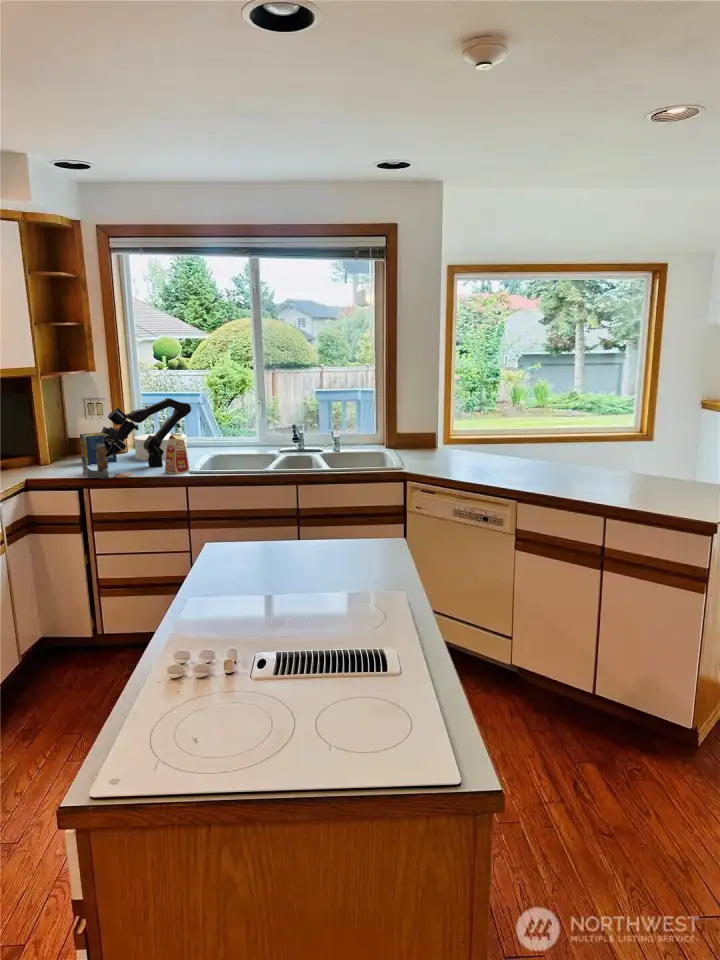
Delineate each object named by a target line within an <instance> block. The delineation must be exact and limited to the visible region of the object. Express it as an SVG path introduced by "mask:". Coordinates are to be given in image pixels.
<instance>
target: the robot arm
mask: <svg viewBox="0 0 720 960" xmlns="http://www.w3.org/2000/svg"><path fill="white" fill-rule="evenodd" d="M169 407H170V408H172V409H173V412H172V414H171V416H169V418H168V419H167V420H166V421H165V422H164V423H163V425H162V426H161V427H160V428H159V430H158V431H157V432H156V433H154V434H155V435H154V436H150V435H149V436H148V438H147V439H146V440H145V442H144V449H145V450H146V451H147V452H148V454H149V457H148V461H147V462H148V465H147V466H148V467H149V468H159V467H160V468H161V467H163V466H164V463H163V461H162V455H163V452H164V451H163V450H162V449H161V448H159V447H160V446H161V443H162V440H163V439H164V438H165V436H166V435H167V434H168V433H171V430H173V428H174V427H175V426H176V425H177V424H178V423H179V421H180V420H182V419H183V418H185V417H186V416H188V415H189V414H190V413H191V412H192V406H191V405H190V404H189V403H188V402H182V401H181V402H180V401H177V400H174V399H173V398H169V397H167V398H166V397H165V399H162V400H161V401H158V402H157V403H154V404H152V405H149V406H147V407H145V408H139V409H135V410H132V411H130V413H126V414H125V413H124V412H123V411H122V410H121V409H120V408H118V407H116V408H115V409H113V411H111V412H110V413H109V414H108V416H107V419H109V420H110V421H111V422H112V423H113V424H114V425H116V426H118V425H119V427H118V428H114V427H112V426H110V427H109V428H108V427H106V426H103V427H102V430H101V433H104V434H108V435H105V436H104V437H103V443H104V444H105V447H106V450H107V451H108V452H107V454H106V455H105V456H106V457H109V456H111V455H113V454H115V453H116V454H117V453H119V452H122V451H125V450H126V448H127V445H126V443H125V440H126V439H128V438H129V435H131V433H132V432H133V431H134V430H136V431H139V429H140V428H139V424H140V423H142V422H144V421H145V420H147V419H148V418H149V417H150V416H152V415H155V414H156V413H159V412H161V411H162V410H166V409H167V408H169ZM135 423H136V424H135Z"/></svg>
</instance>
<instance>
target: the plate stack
mask: <svg viewBox="0 0 720 960" xmlns="http://www.w3.org/2000/svg"><path fill="white" fill-rule="evenodd" d="M171 433H172V432H169V433H168V434H167V435H166V436H165V438H164V439H163V440H162V443H161V446H160V447H159V448H161V449H162V450H163V451H164V452H163V455H162V460H164V461H165V460H166V451H167V445H168V439H169V437H170V436H171ZM174 433H175V434H180V433H177V432H174ZM155 434H156V433H149V434H148V433H147V434H141V435H137V436H134V438H133V439H134V445H135V446H134V449H135V459H136V458H137V459H136V460H138V459H141V460H140V461H145V460H148V457H149V454H148V452H147V451H146V450H145V449H144V442H145V440H146V439H147V438H148V436H149V435H150V436H154V435H155ZM181 434H182V435H181V437H182V438H183V439H184V442H185V446H186V451H187V452H188V448H187V447H188V445H187V441H188V440H187V434H184V433H181Z"/></svg>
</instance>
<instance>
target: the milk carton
mask: <svg viewBox="0 0 720 960" xmlns="http://www.w3.org/2000/svg"><path fill="white" fill-rule="evenodd" d="M170 433H171V436H170V437H169V439H168V445H167V451H166V460H164V462H165V463H164V464H165V465H164V473H166V472H168V473H167V474H171V473H175V474H174V475H181V474H180V473H182V474H185V472H186V473H188V471H189V472H190V464H189V457H188V450H187V451H186V448H187V447H186V446H185V442H184V439H183V438H182V437H181V435H182V434H183V433H179V434H175V433H176V432H170Z"/></svg>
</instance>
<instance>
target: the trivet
mask: <svg viewBox="0 0 720 960" xmlns="http://www.w3.org/2000/svg"><path fill="white" fill-rule="evenodd" d="M131 475H132V476H133V474H132V473H131V472H119V473H115V474H114V475H113V477H114V476H115V477H114V478H116V479H117V478H118V479H121V478H122V479H123V478H124V477H125V478H129V477H128V476H131ZM132 476H131V477H132ZM125 478H124V479H125Z"/></svg>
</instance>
